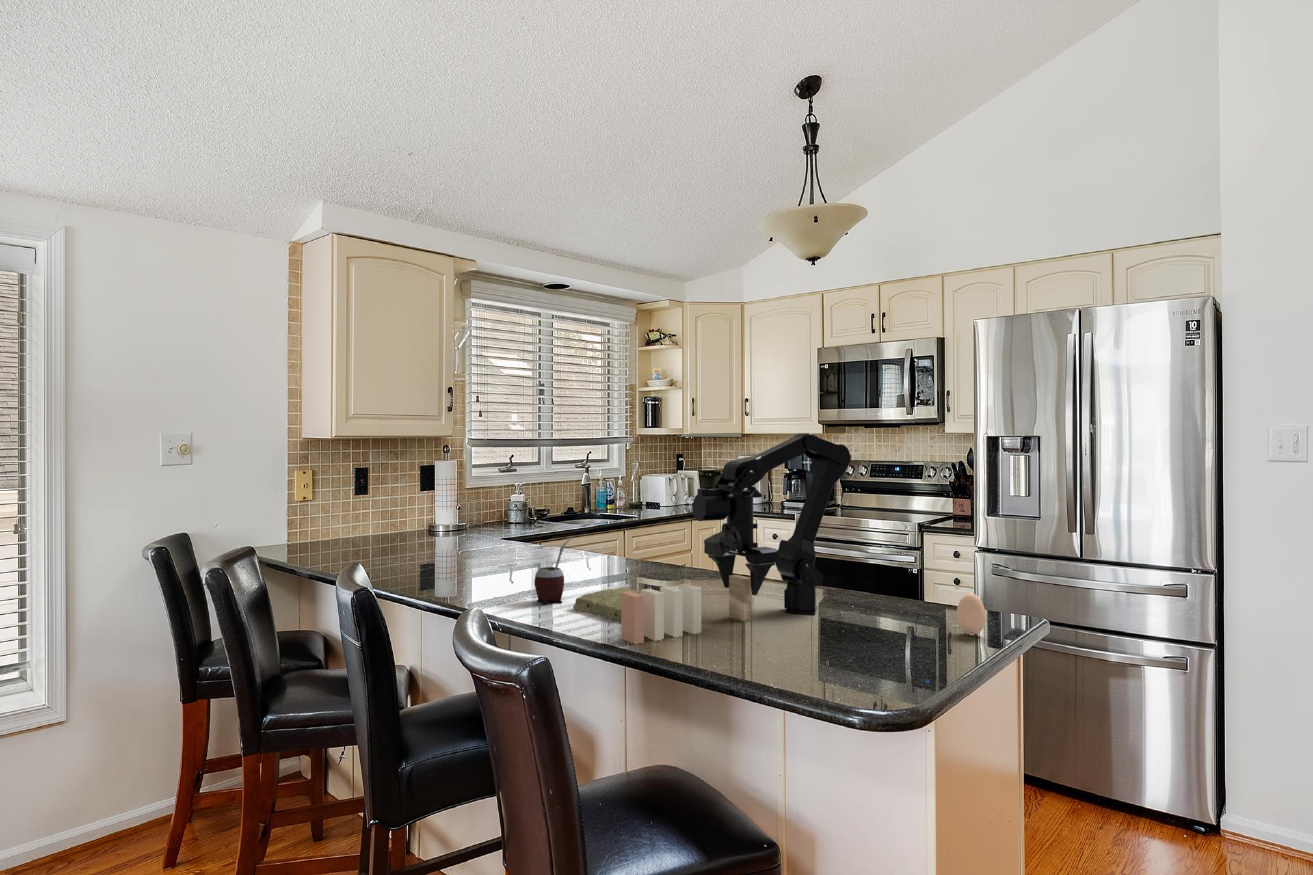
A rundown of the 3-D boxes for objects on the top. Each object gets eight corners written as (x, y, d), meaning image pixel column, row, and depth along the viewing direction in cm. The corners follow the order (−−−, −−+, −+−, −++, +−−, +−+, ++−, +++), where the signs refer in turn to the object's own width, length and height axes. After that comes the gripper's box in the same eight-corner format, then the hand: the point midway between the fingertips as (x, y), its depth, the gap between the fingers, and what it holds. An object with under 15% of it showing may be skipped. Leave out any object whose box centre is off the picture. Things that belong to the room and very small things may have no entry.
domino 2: (649, 633, 143) (649, 588, 143) (663, 639, 139) (663, 592, 139) (641, 635, 142) (641, 589, 142) (655, 641, 138) (654, 594, 138)
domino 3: (668, 630, 146) (668, 586, 146) (682, 636, 142) (682, 590, 142) (660, 632, 145) (660, 587, 145) (674, 637, 140) (674, 591, 141)
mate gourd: (529, 604, 169) (529, 540, 169) (543, 597, 177) (543, 536, 177) (559, 606, 167) (558, 541, 167) (571, 599, 175) (571, 537, 175)
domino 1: (630, 637, 141) (630, 591, 141) (643, 643, 137) (643, 595, 137) (621, 638, 140) (621, 592, 140) (634, 644, 136) (634, 596, 136)
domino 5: (736, 615, 158) (736, 574, 158) (751, 620, 154) (751, 578, 154) (729, 616, 157) (729, 575, 157) (744, 621, 153) (743, 579, 153)
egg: (983, 640, 138) (983, 597, 138) (954, 636, 141) (954, 594, 141) (987, 633, 143) (987, 592, 143) (959, 630, 146) (959, 589, 146)
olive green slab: (620, 599, 178) (620, 584, 178) (687, 610, 165) (687, 595, 165) (566, 613, 163) (566, 597, 163) (635, 627, 151) (635, 609, 151)
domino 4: (686, 627, 148) (686, 583, 148) (701, 632, 144) (701, 587, 144) (678, 628, 147) (678, 584, 147) (693, 634, 143) (693, 588, 143)
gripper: (684, 517, 159) (684, 588, 159) (738, 525, 143) (739, 604, 143) (724, 514, 165) (724, 582, 165) (780, 521, 149) (780, 597, 149)
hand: (740, 591), depth 156 cm, fingers open, 9 cm apart
